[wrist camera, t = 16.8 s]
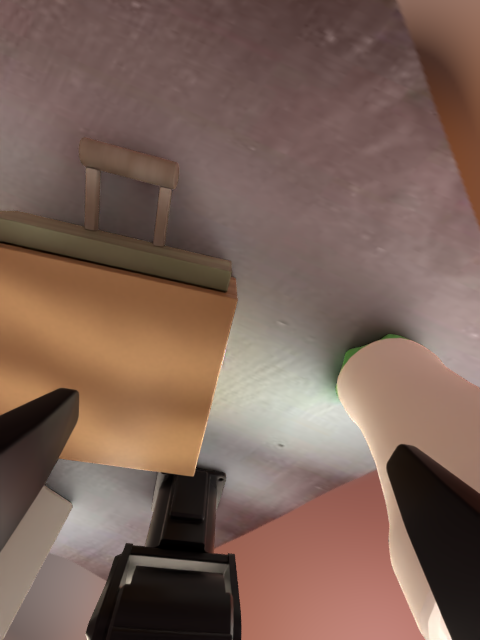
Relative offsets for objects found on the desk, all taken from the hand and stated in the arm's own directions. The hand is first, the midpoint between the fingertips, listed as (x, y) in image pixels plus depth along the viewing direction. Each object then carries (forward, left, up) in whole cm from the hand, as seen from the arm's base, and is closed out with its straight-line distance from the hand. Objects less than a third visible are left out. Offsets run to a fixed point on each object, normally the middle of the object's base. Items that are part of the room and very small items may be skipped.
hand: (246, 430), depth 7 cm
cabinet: (-6, +7, -13) cm, 16 cm away
